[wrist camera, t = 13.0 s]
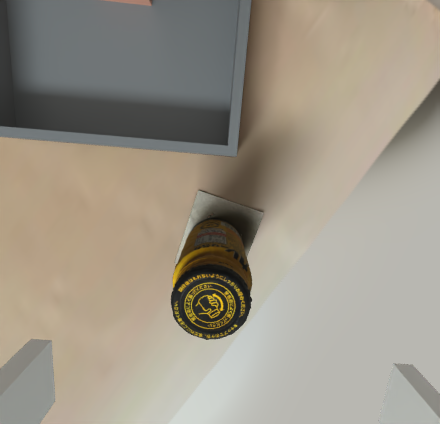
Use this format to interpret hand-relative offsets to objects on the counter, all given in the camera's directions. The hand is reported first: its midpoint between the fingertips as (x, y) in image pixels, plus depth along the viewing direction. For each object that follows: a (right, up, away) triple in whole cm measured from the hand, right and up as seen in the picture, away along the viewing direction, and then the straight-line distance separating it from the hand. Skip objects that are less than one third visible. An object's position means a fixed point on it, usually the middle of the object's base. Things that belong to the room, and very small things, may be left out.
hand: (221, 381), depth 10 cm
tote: (-9, +23, +14) cm, 28 cm away
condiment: (0, +4, +18) cm, 19 cm away
